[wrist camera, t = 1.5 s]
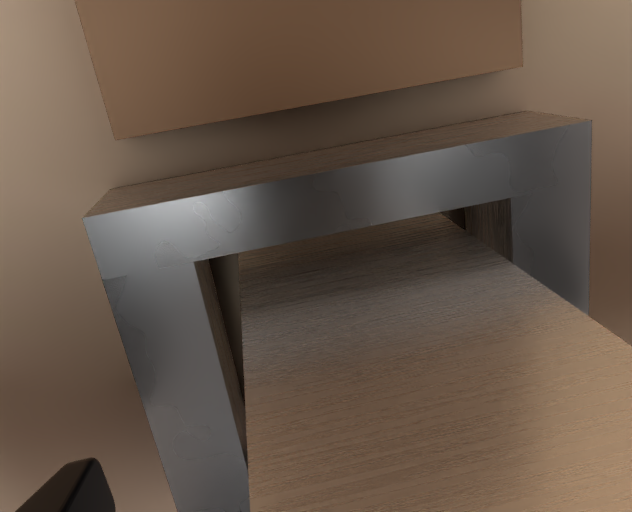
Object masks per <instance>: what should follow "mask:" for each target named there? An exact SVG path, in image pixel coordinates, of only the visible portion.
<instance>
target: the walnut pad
mask: <svg viewBox="0 0 632 512" xmlns="http://www.w3.org/2000/svg"><path fill="white" fill-rule="evenodd" d="M75 3H76V7H77V10H78V14H79V17H80V21H81V24H82V27H83V31H84V34H85V38H86V41H87V45H88V48H89V52H90V55H91V59H92V62H93V66H94V69H95V73H96V76H97V79H98V83H99V86H100V90H101V93H102V97H103V100H104V104H105V107H106V111H107V114H108V118H109V121H110V124H111V128H112V131H113V135H114V138H115V140H119V139H125V138H130V137H136V136H141V135H147V134H152V133H158V132H164V131H169V130H175V129H180V128H186V127H191V126H197V125H202V124H208V123H213V122H219V121H224V120H230V119H235V118H241V117H246V116H252V115H258V114H263V113H269V112H274V111H280V110H285V109H291V108H296V107H302V106H307V105H313V104H318V103H324V102H329V101H335V100H340V99H346V98H351V97H357V96H363V95H368V94H374V93H379V92H385V91H390V90H396V89H401V88H407V87H412V86H418V85H423V84H429V83H434V82H440V81H445V80H451V79H456V78H462V77H468V76H473V75H479V74H484V73H490V72H495V71H501V70H506V69H512V68H517V67H523V57H522V19H521V0H75Z"/></svg>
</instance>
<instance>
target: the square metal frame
mask: <svg viewBox="0 0 632 512" xmlns="http://www.w3.org/2000/svg"><path fill="white" fill-rule="evenodd" d="M591 150H592V120H586V119H580V118H573V117H566V116H559V115H553V114H546V113H539V112H532V111H524V112H519V113H513V114H508V115H503V116H497V117H492V118H487V119H481V120H476V121H471V122H466V123H460V124H455V125H450V126H444V127H439V128H434V129H428V130H423V131H418V132H412V133H407V134H402V135H396V136H391V137H386V138H381V139H375V140H370V141H365V142H359V143H354V144H349V145H343V146H338V147H333V148H327V149H322V150H317V151H311V152H306V153H301V154H296V155H290V156H285V157H280V158H274V159H269V160H264V161H258V162H253V163H248V164H242V165H237V166H232V167H226V168H221V169H216V170H211V171H205V172H200V173H195V174H189V175H184V176H179V177H173V178H168V179H163V180H157V181H152V182H147V183H142V184H136V185H131V186H126V187H120V188H115V189H110V190H109V191H108V192H107V193H106V194H105V195H104V196H103V197H102V198H101V199H100V200H99V201H98V202H97V203H96V205H95V206H94V207H93V208H92V209H91V210H90V211H89V212H88V213H87V214H86V215H85V216H84V217H83V218H82V219H83V223H84V226H85V229H86V232H87V235H88V238H89V241H90V244H91V247H92V250H93V253H94V256H95V259H96V262H97V265H98V269H99V272H100V275H101V278H102V281H103V284H104V287H105V290H106V293H107V296H108V299H109V302H110V305H111V308H112V311H113V315H114V318H115V321H116V324H117V327H118V330H119V333H120V336H121V339H122V342H123V345H124V348H125V351H126V354H127V357H128V361H129V364H130V367H131V370H132V373H133V376H134V379H135V382H136V385H137V388H138V391H139V394H140V397H141V400H142V403H143V407H144V410H145V413H146V416H147V419H148V422H149V425H150V428H151V431H152V434H153V437H154V440H155V443H156V446H157V449H158V453H159V456H160V459H161V462H162V465H163V468H164V471H165V474H166V477H167V480H168V483H169V486H170V489H171V492H172V495H173V499H174V502H175V505H176V508H177V511H178V512H250V496H249V474H248V453H247V431H246V409H245V405H244V401H243V397H242V393H241V389H240V385H239V381H238V377H237V373H236V369H235V365H234V361H233V357H232V353H231V349H230V345H229V340H228V336H227V332H226V328H225V324H224V320H223V316H222V312H221V308H220V304H219V300H218V296H217V292H216V288H215V284H214V280H213V276H212V272H211V268H210V264H209V260H208V259H210V258H215V257H220V256H225V255H230V254H234V253H239V252H244V251H249V250H254V249H259V248H264V247H269V246H274V245H279V244H284V243H289V242H294V241H299V240H304V239H309V238H314V237H319V236H324V235H329V234H334V233H339V232H343V231H348V230H353V229H358V228H363V227H368V226H373V225H378V224H383V223H388V222H393V221H398V220H403V219H408V218H413V217H418V216H423V215H428V214H433V213H438V212H443V211H448V210H452V209H457V208H462V207H464V212H465V226H466V231H467V232H468V233H470V234H471V235H472V236H474V237H475V238H477V239H478V240H480V241H481V242H483V243H484V244H485V245H487V246H488V247H490V248H491V249H493V250H494V251H496V252H497V253H498V254H500V255H501V256H503V257H504V258H506V259H507V260H508V261H510V262H511V263H513V264H514V265H516V266H517V267H519V268H520V269H521V270H523V271H524V272H526V273H527V274H529V275H530V276H531V277H533V278H534V279H536V280H537V281H539V282H540V283H542V284H543V285H544V286H546V287H547V288H549V289H550V290H552V291H553V292H555V293H556V294H557V295H559V296H560V297H562V298H563V299H565V300H566V301H567V302H569V303H570V304H572V305H573V306H575V307H576V308H578V309H579V310H580V311H582V312H583V313H585V314H586V315H588V316H589V270H590V210H591Z"/></svg>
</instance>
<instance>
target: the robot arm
mask: <svg viewBox="0 0 632 512" xmlns="http://www.w3.org/2000/svg"><path fill="white" fill-rule="evenodd" d="M15 512H116V511H115V503H114V499H113V496H112V494H111V491H110V488H109V486H108V483H107V480H106V477H105V475H104V472H103V469H102V467H101V465H100V463H99V461H98V460H97V459H95V458H87V459H83V460H78V461H74V462H70V463H67V464H66V465H64V466H63V467H62V468H61V469H60V470H59V471H58V472H57V473H56V474H55V475H54V476H52V477H51V478H50V479H49V480H48V481H47V482H46V483H45V484H44V485H43V486H42V487H41V488H40V489H39V490H38V491H37V492H35V493H34V494H33V495H32V496H31V497H30V498H29V499H28V500H27V501H26V502H25V503H24V504H23V505H22V506H21V507H20V508H18V509H17V510H16V511H15Z"/></svg>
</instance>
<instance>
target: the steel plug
mask: <svg viewBox="0 0 632 512" xmlns="http://www.w3.org/2000/svg"><path fill="white" fill-rule="evenodd" d="M238 257H239V279H240V301H241V322H242V344H243V366H244V388H245V409H246V431H247V453H248V474H249V496H250V512H632V346H631V345H629V344H628V343H626V342H625V341H624V340H622V339H621V338H619V337H618V336H616V335H615V334H614V333H612V332H611V331H609V330H608V329H606V328H605V327H603V326H602V325H601V324H599V323H598V322H596V321H595V320H593V319H592V318H591V317H589V316H588V315H586V314H585V313H583V312H582V311H580V310H579V309H578V308H576V307H575V306H573V305H572V304H570V303H569V302H567V301H566V300H565V299H563V298H562V297H560V296H559V295H557V294H556V293H555V292H553V291H552V290H550V289H549V288H547V287H546V286H544V285H543V284H542V283H540V282H539V281H537V280H536V279H534V278H533V277H531V276H530V275H529V274H527V273H526V272H524V271H523V270H521V269H520V268H519V267H517V266H516V265H514V264H513V263H511V262H510V261H508V260H507V259H506V258H504V257H503V256H501V255H500V254H498V253H497V252H496V251H494V250H493V249H491V248H490V247H488V246H487V245H485V244H484V243H483V242H481V241H480V240H478V239H477V238H475V237H474V236H472V235H471V234H470V233H468V232H467V231H465V230H464V229H462V228H461V227H460V226H458V225H457V224H455V223H454V222H452V221H451V220H449V219H448V218H447V217H445V216H444V215H442V214H441V213H439V212H438V213H433V214H428V215H423V216H418V217H413V218H408V219H403V220H398V221H393V222H388V223H383V224H378V225H373V226H368V227H363V228H358V229H353V230H348V231H343V232H339V233H334V234H329V235H324V236H319V237H314V238H309V239H304V240H299V241H294V242H289V243H284V244H279V245H274V246H269V247H264V248H259V249H254V250H249V251H244V252H239V253H238Z"/></svg>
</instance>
